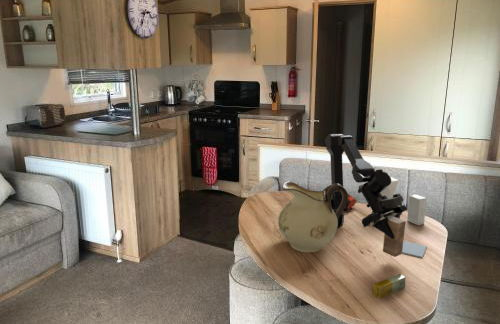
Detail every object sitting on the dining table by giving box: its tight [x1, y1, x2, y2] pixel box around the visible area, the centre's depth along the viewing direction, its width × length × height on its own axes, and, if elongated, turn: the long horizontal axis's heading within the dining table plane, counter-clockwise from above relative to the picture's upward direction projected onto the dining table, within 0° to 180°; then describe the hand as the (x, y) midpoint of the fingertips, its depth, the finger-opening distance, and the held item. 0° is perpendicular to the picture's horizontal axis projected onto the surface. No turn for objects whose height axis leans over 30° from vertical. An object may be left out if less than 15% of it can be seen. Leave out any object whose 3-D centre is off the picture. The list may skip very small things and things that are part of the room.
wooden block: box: [382, 216, 406, 258], centre depth 137 cm, size 4×5×12 cm
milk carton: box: [371, 171, 400, 218], centre depth 178 cm, size 9×9×20 cm
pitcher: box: [277, 181, 349, 254], centre depth 150 cm, size 22×24×25 cm
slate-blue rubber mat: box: [402, 240, 428, 259], centre depth 149 cm, size 10×10×1 cm
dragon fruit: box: [347, 193, 357, 210], centre depth 189 cm, size 8×8×12 cm
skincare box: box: [406, 194, 427, 226], centre depth 172 cm, size 6×4×12 cm
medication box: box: [372, 273, 407, 299], centre depth 122 cm, size 12×3×4 cm, turn 120°
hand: (397, 237), depth 136 cm, fingers closed on wooden block, 4 cm apart
